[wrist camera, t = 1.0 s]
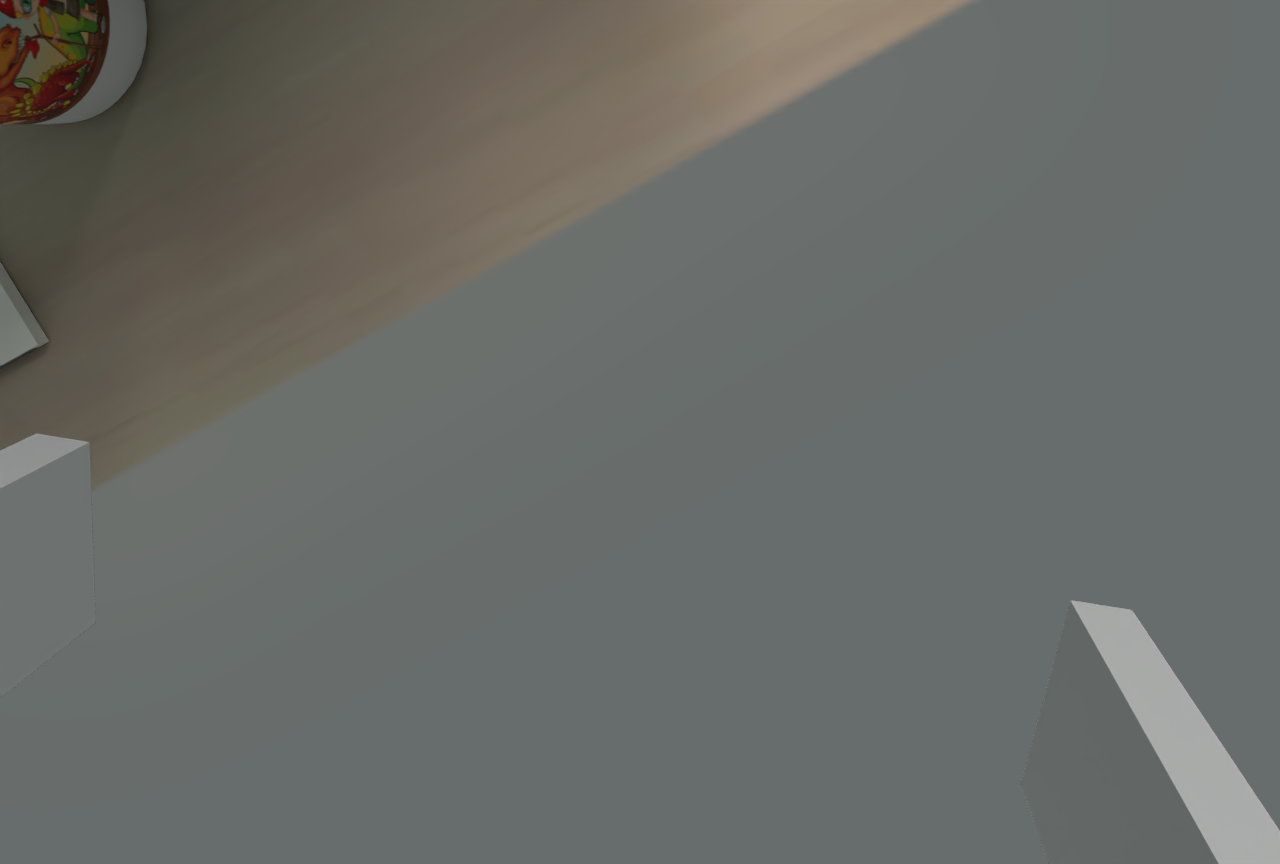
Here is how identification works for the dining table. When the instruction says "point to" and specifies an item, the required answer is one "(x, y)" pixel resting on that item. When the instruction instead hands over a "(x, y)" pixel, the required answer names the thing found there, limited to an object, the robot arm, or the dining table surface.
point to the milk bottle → (67, 57)
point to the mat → (16, 323)
